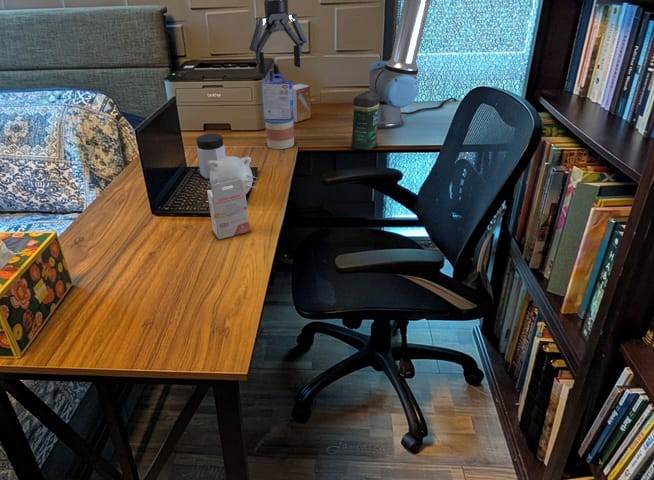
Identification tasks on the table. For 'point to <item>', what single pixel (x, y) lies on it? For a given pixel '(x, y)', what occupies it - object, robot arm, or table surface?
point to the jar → (209, 151)
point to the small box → (301, 102)
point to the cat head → (231, 171)
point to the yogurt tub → (280, 133)
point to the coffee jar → (365, 120)
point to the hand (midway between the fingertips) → (280, 69)
